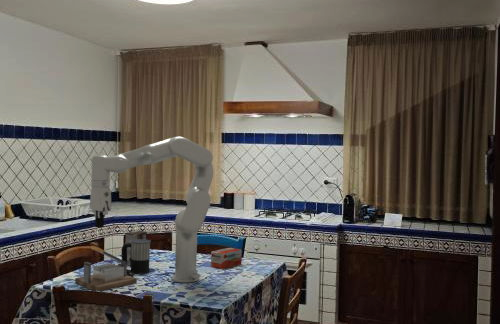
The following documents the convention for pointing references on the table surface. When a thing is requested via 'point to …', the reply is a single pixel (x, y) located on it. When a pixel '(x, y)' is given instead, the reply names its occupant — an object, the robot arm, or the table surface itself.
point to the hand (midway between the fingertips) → (99, 227)
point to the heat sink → (105, 272)
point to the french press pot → (133, 236)
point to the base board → (105, 283)
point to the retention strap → (107, 254)
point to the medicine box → (226, 258)
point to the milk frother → (137, 256)
